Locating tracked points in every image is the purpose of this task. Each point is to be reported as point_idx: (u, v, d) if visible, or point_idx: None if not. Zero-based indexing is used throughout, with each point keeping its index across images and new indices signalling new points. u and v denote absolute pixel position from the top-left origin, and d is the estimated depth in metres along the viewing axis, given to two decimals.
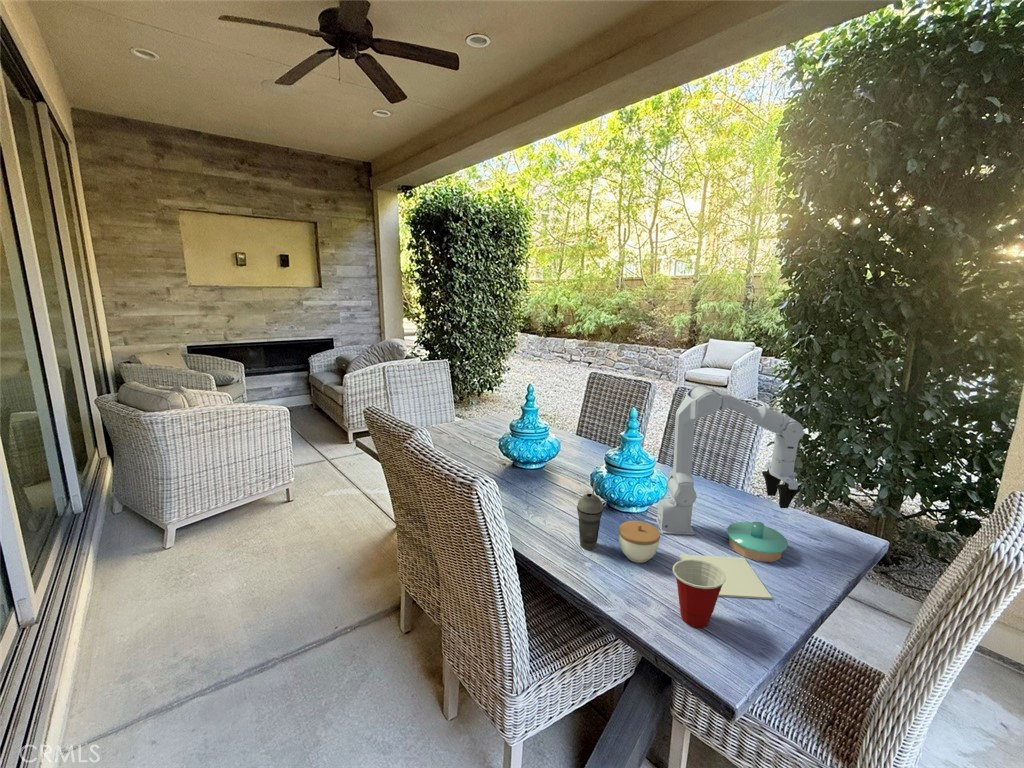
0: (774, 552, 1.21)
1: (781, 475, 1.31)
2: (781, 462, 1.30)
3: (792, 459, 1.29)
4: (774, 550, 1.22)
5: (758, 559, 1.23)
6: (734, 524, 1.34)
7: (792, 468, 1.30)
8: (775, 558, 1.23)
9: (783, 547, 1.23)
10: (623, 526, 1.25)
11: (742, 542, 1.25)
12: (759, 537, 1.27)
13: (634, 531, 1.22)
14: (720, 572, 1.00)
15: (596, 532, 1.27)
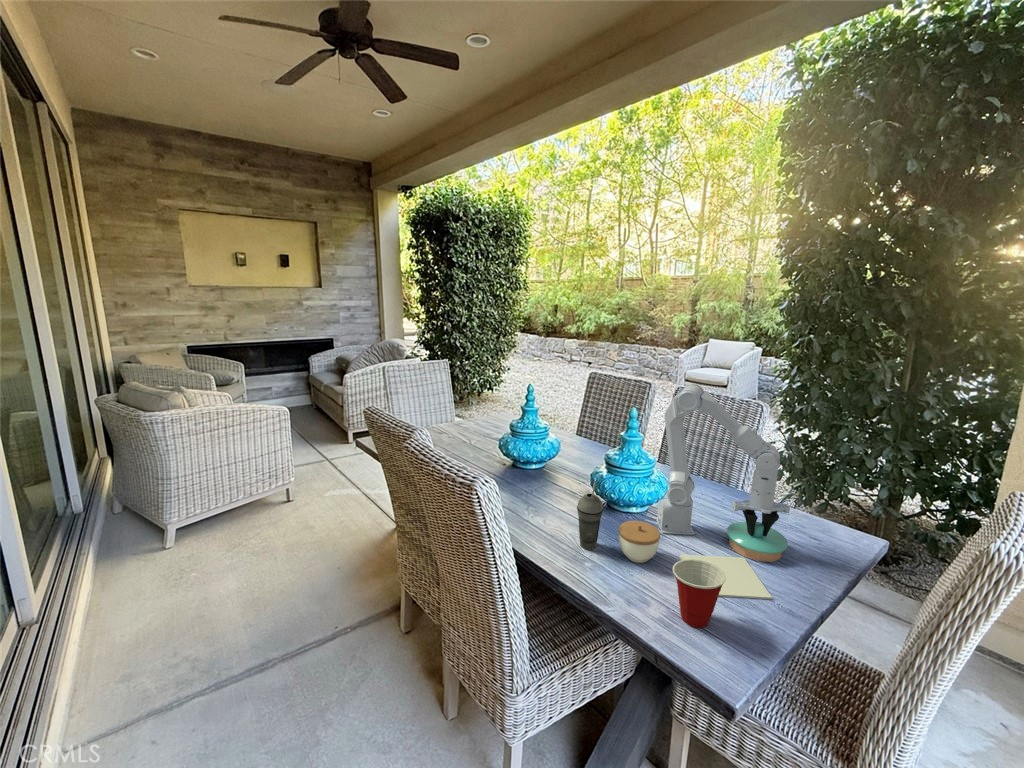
0: (774, 552, 1.21)
1: (749, 501, 1.28)
2: None
3: (767, 491, 1.23)
4: (774, 550, 1.22)
5: (758, 559, 1.23)
6: (734, 524, 1.34)
7: (755, 498, 1.25)
8: (775, 558, 1.23)
9: (783, 547, 1.23)
10: (623, 526, 1.25)
11: (742, 542, 1.25)
12: (759, 537, 1.27)
13: (634, 531, 1.22)
14: (720, 572, 1.00)
15: (596, 532, 1.27)
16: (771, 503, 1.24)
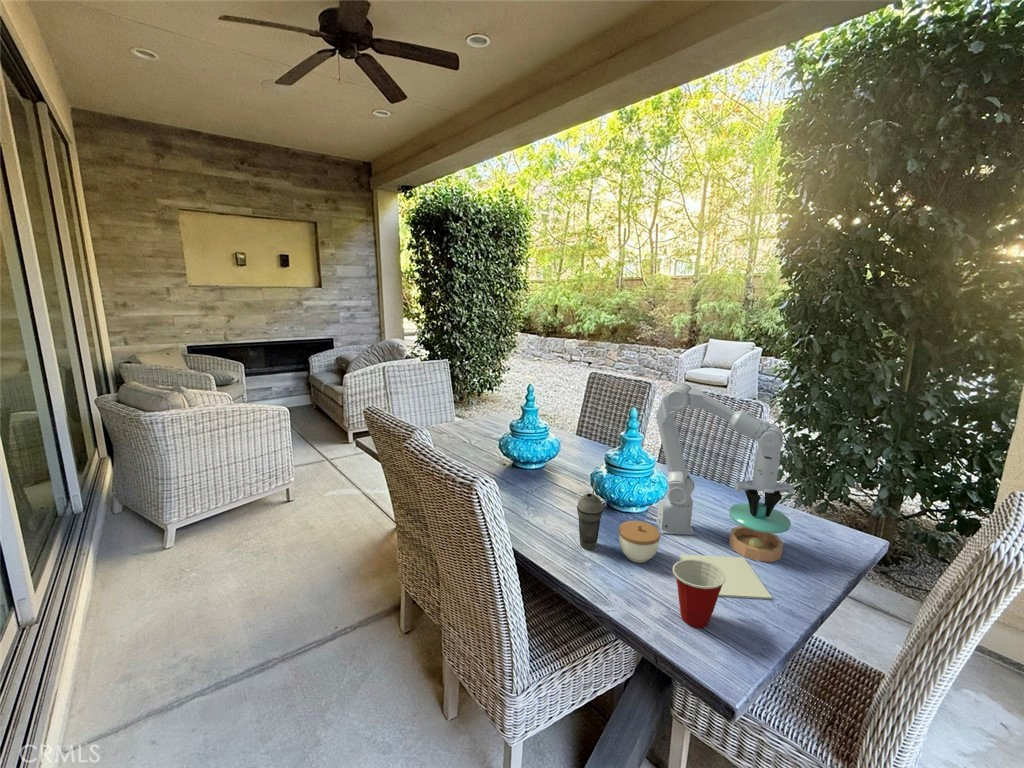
0: (777, 532, 1.20)
1: (752, 481, 1.26)
2: None
3: (770, 470, 1.21)
4: (777, 530, 1.20)
5: (758, 559, 1.23)
6: (736, 505, 1.33)
7: (758, 478, 1.23)
8: (775, 558, 1.23)
9: (786, 527, 1.22)
10: (623, 526, 1.25)
11: (745, 522, 1.24)
12: (762, 517, 1.26)
13: (634, 531, 1.22)
14: (720, 572, 1.00)
15: (596, 532, 1.27)
16: (774, 483, 1.22)
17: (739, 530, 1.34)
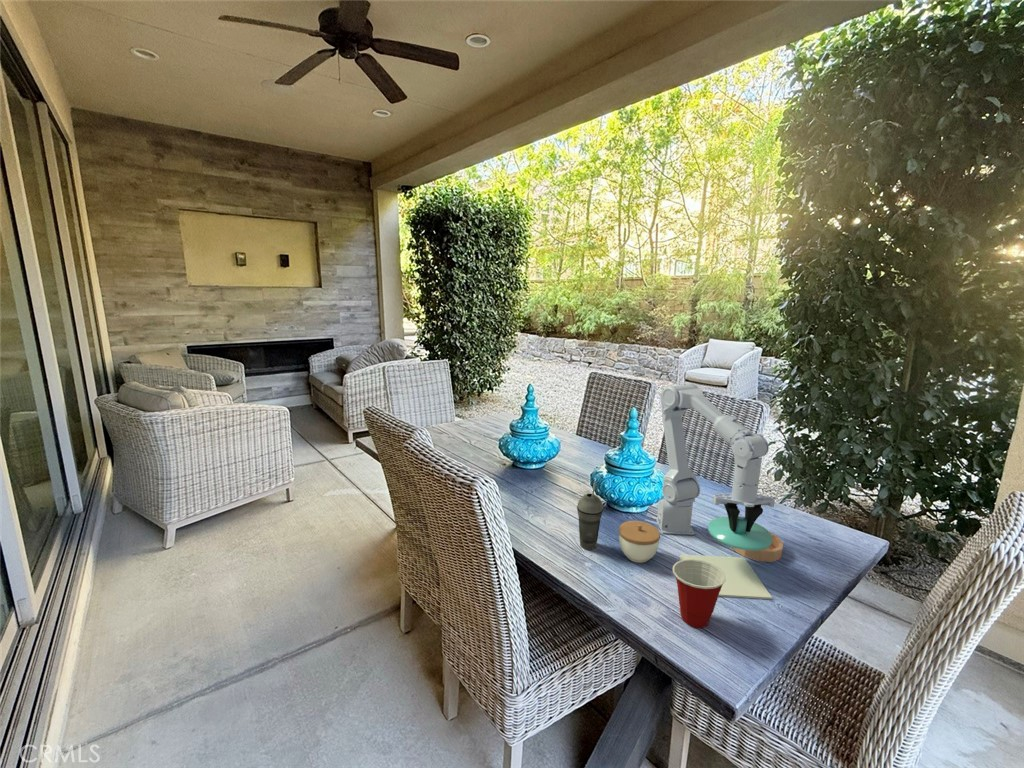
0: (757, 549, 1.12)
1: (731, 494, 1.18)
2: None
3: (742, 482, 1.14)
4: (757, 547, 1.12)
5: (758, 559, 1.23)
6: (716, 519, 1.25)
7: (737, 491, 1.15)
8: (775, 558, 1.23)
9: (767, 543, 1.13)
10: (623, 526, 1.25)
11: (722, 538, 1.16)
12: (742, 533, 1.18)
13: (634, 531, 1.22)
14: (720, 572, 1.00)
15: (596, 532, 1.27)
16: (754, 496, 1.14)
17: None
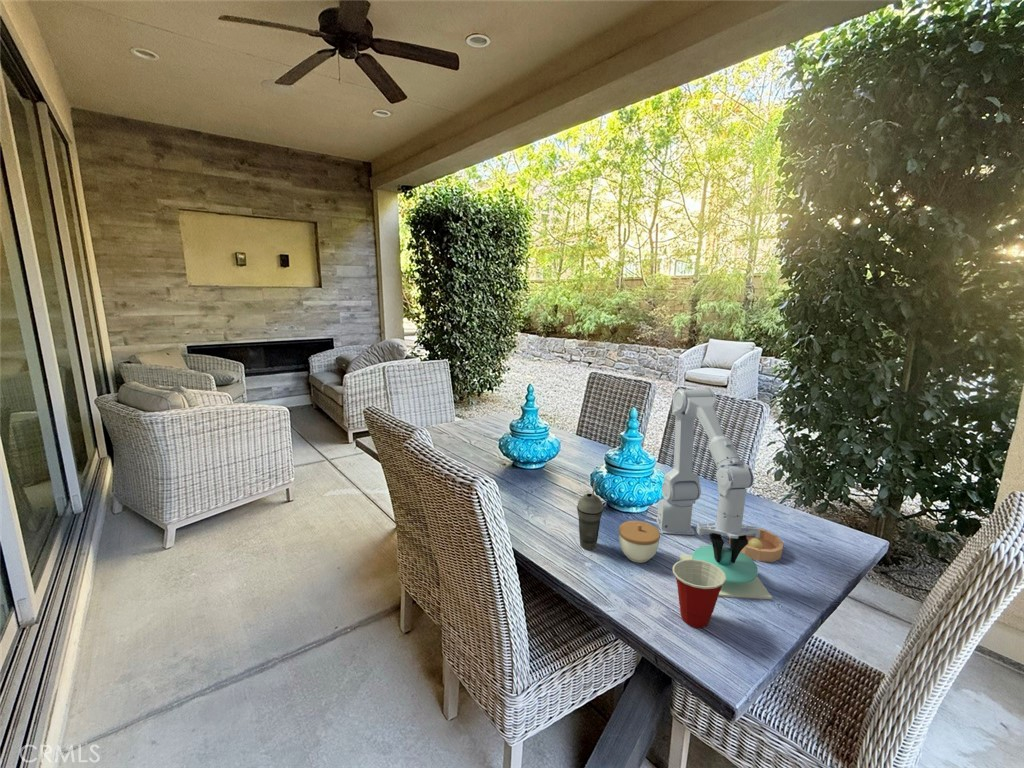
0: (741, 582, 1.09)
1: (715, 523, 1.15)
2: None
3: (723, 511, 1.11)
4: (740, 580, 1.09)
5: (758, 559, 1.23)
6: (702, 548, 1.22)
7: (721, 521, 1.12)
8: (775, 558, 1.23)
9: (751, 576, 1.10)
10: (623, 526, 1.25)
11: None
12: (726, 564, 1.14)
13: (634, 531, 1.22)
14: (720, 572, 1.00)
15: (596, 532, 1.27)
16: (739, 527, 1.11)
17: None
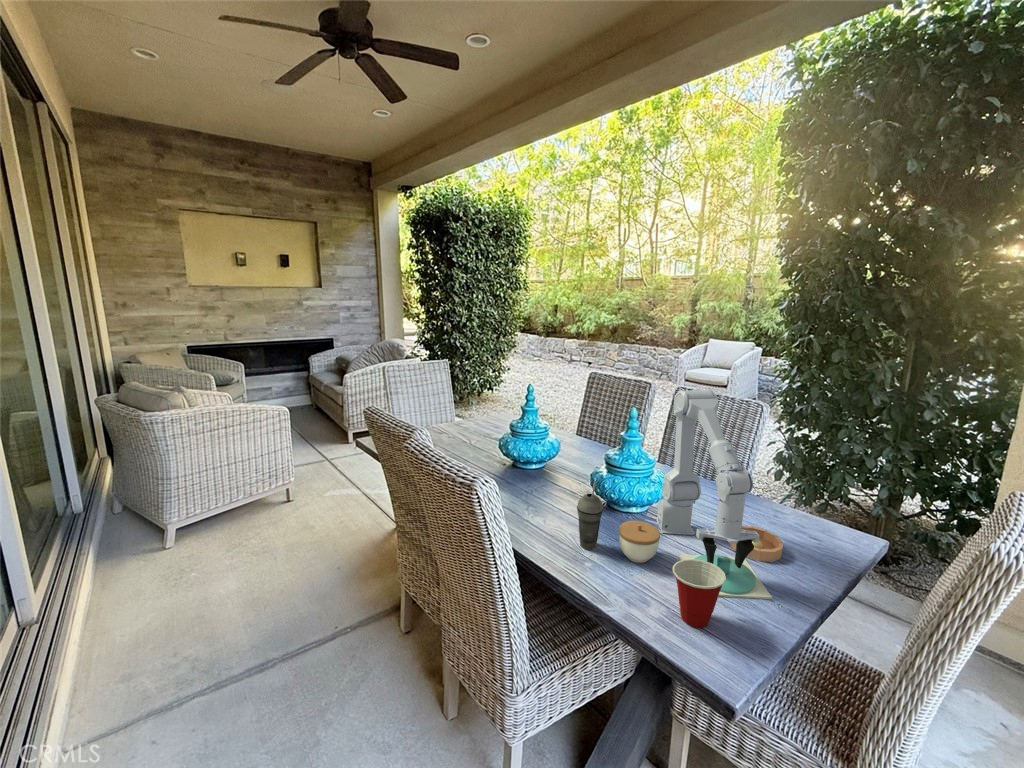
0: (739, 593, 1.09)
1: (715, 528, 1.15)
2: None
3: (722, 516, 1.12)
4: (739, 590, 1.09)
5: (758, 559, 1.23)
6: (700, 557, 1.22)
7: (721, 526, 1.12)
8: (775, 558, 1.23)
9: (749, 587, 1.11)
10: (623, 526, 1.25)
11: None
12: (725, 574, 1.15)
13: (634, 531, 1.22)
14: (720, 572, 1.00)
15: (596, 532, 1.27)
16: (738, 532, 1.11)
17: None
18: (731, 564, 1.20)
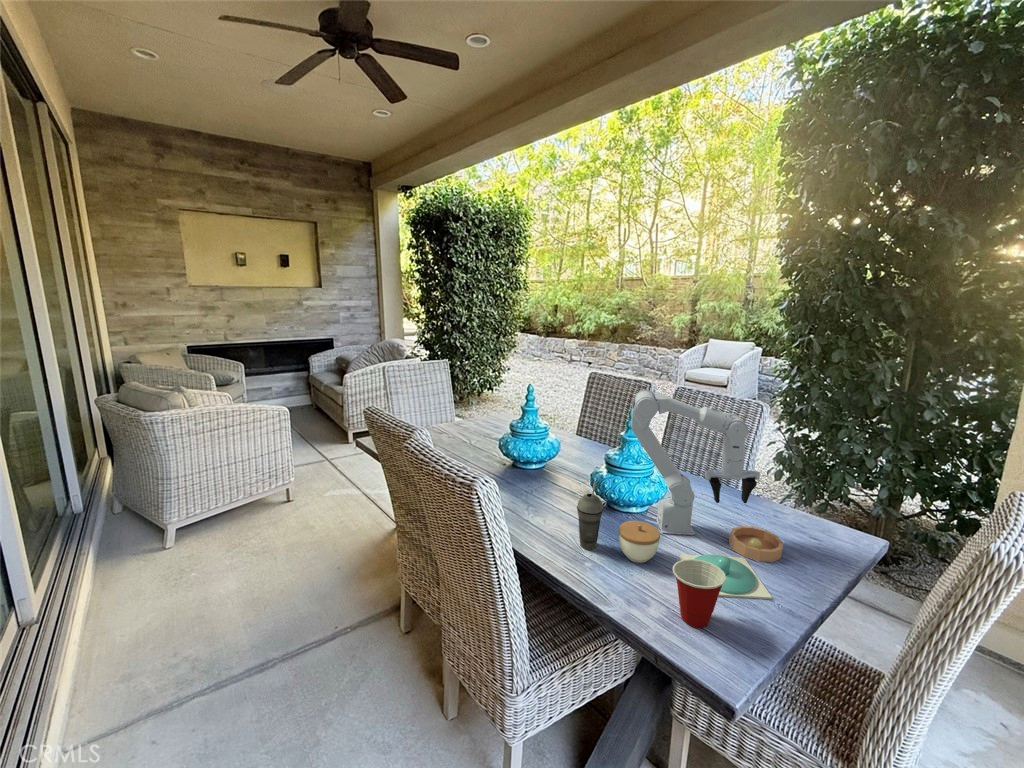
0: (739, 593, 1.09)
1: (721, 470, 1.34)
2: None
3: (739, 459, 1.28)
4: (739, 590, 1.09)
5: (758, 559, 1.23)
6: (700, 557, 1.22)
7: (725, 466, 1.30)
8: (775, 558, 1.23)
9: (749, 587, 1.11)
10: (623, 526, 1.25)
11: None
12: (725, 574, 1.15)
13: (634, 531, 1.22)
14: (720, 572, 1.00)
15: (596, 532, 1.27)
16: (741, 470, 1.29)
17: (739, 530, 1.34)
18: (731, 564, 1.20)
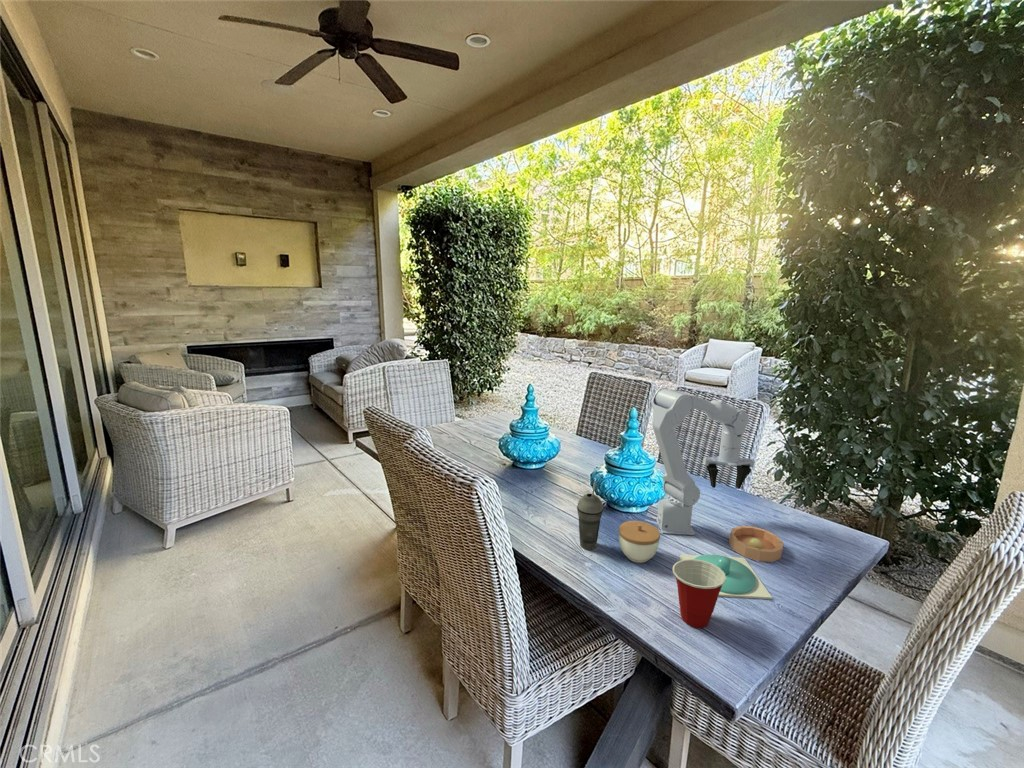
0: (739, 593, 1.09)
1: (718, 457, 1.43)
2: None
3: (740, 446, 1.39)
4: (738, 590, 1.09)
5: (758, 559, 1.23)
6: (700, 557, 1.22)
7: (723, 454, 1.40)
8: (775, 558, 1.23)
9: (749, 587, 1.11)
10: (623, 526, 1.25)
11: None
12: (725, 574, 1.15)
13: (634, 531, 1.22)
14: (720, 572, 1.00)
15: (596, 532, 1.27)
16: (737, 457, 1.39)
17: (739, 530, 1.34)
18: (731, 564, 1.20)
